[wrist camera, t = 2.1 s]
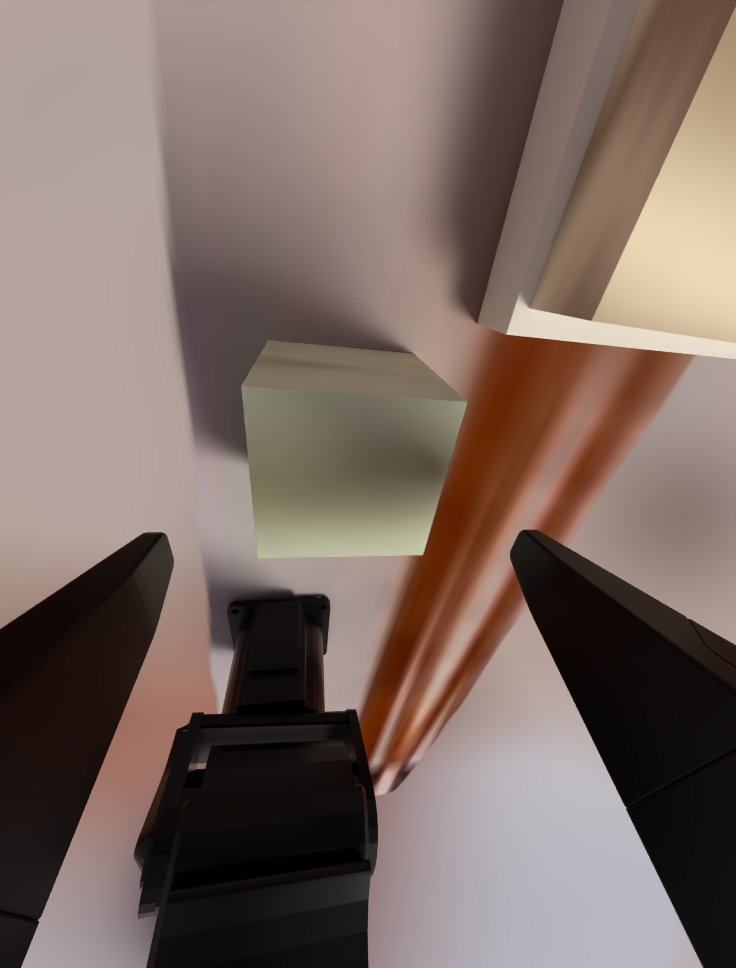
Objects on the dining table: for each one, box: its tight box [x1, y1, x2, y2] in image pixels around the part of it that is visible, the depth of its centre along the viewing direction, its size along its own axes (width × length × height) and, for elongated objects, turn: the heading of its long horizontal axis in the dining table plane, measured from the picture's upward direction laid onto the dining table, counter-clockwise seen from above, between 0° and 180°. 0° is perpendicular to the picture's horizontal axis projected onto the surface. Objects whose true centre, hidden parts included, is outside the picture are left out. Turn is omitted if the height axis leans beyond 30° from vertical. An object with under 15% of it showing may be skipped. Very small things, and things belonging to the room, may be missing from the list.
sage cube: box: [241, 340, 467, 558], centre depth 13 cm, size 6×6×6 cm
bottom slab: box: [477, 0, 736, 359], centre depth 11 cm, size 11×11×3 cm
